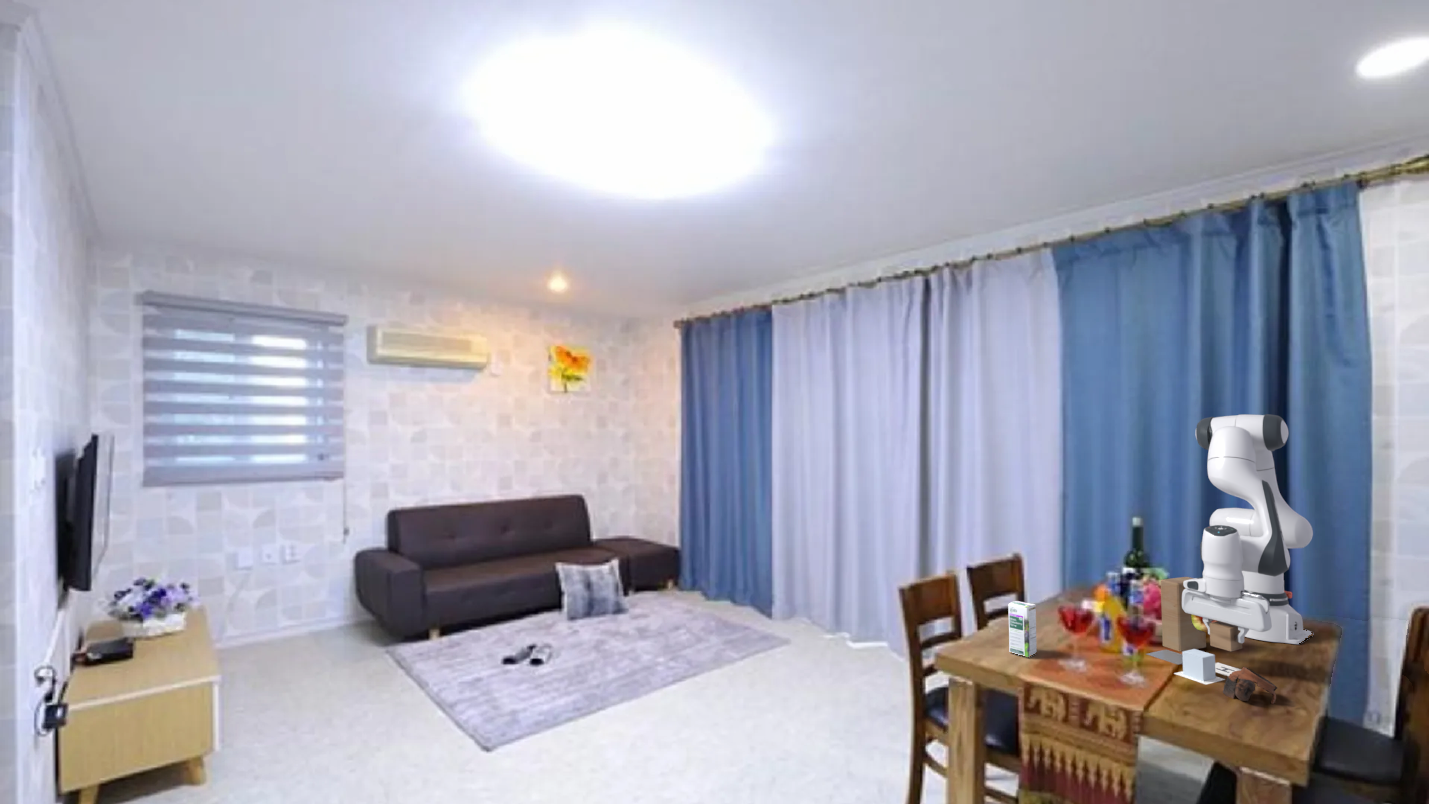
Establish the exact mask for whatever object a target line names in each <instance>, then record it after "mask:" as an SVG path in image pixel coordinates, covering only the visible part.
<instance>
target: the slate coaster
mask: <svg viewBox="0 0 1429 804" xmlns="http://www.w3.org/2000/svg"><path fill="white" fill-rule="evenodd" d="M1146 655H1147V656H1151V657H1154V658H1155V659H1160V660H1162V661H1165V662H1168V663H1170V664H1171V663H1172V664H1175V665H1177V666H1178V665H1183V655H1182V653H1178V652H1175V651H1172V650H1171V649H1170V650H1169V649H1162V650H1158V651H1153V652H1150V653H1149V652H1148V653H1146Z"/></svg>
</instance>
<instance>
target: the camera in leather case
mask: <svg viewBox="0 0 1429 804" xmlns="http://www.w3.org/2000/svg"><path fill="white" fill-rule="evenodd" d="M1256 687H1259V688H1261V689H1263V690H1265V692H1268V693H1269V694H1270V695H1271V697H1272V698H1271V701H1270V704H1271V705H1274V704H1275V703H1276V700H1277V695H1276V690H1277V689H1278V687H1277V685H1275V684H1274V683H1273V682H1271V681H1269V680H1268V679H1267V678H1265V677H1264V676H1262V675H1260V674H1259V673H1258V672H1255V671H1254V670H1252V669H1250V668H1248V667H1245V666H1243V667H1242V668H1241V670H1238V671H1234V672H1232V673H1231V674H1230V675H1229V676H1227V678H1226V680H1225V682H1224V684H1223V690H1222V693H1223V695H1225V696H1226V697H1228V698H1231V699H1234V700H1235V696H1236V698H1238V700H1239V701H1244V702H1249V699H1250V697H1251V695H1253V693H1254V692H1255V691H1256Z"/></svg>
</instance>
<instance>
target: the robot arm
mask: <svg viewBox="0 0 1429 804" xmlns="http://www.w3.org/2000/svg"><path fill="white" fill-rule="evenodd" d="M1194 434H1195V438H1196V441H1197V443H1198V445H1199V447H1201V448H1202V449H1204V450H1207V451H1208V453H1207V461H1206V462H1207V466H1206V467H1207V468H1206V469H1207V470H1206V471H1207V476H1208V479H1209V481H1210V483H1211V484H1212V485H1213V486H1214V487H1216V488H1217V489H1218V490H1220V491H1222V492H1224V493H1226V494H1228V495H1231V496H1233V497H1237V498H1239V499H1242V500H1245V502H1246V501H1247V502H1248V503H1249V505H1251V506H1252V508H1253V509H1252V508H1243V507H1242V508H1241V507H1224V508H1218V509H1216V510H1214V511H1213V512H1212V514H1211V515H1210V517H1209V526H1207V527H1205V528H1204V529H1203V532H1202V533H1203V534H1202V539H1201V541H1200V544H1199V550H1200V555H1199V556H1200V559H1201V560H1202V562H1203V571H1202V577H1201V576H1200V577H1195V578H1194V577H1193V578H1194V579H1189V580H1186V581H1184V582H1183V585H1184V587H1185V588H1186V589H1184V590H1183V593H1182V609H1183V610H1184V612H1185V613H1188V614H1192V615H1193V616H1196V617H1200V618H1202V623H1203V624H1204V625H1205V627H1206V628H1207V635H1209V636H1210V625H1209V623H1213V621H1215V622H1217V621H1220V622H1224V623H1228V624H1231V625H1235V626H1238V630H1240V633H1239V634H1237V635H1234V638H1235V639H1234V641H1235V642H1238V643H1242V644H1243V643H1245V637H1246V638H1248V639H1254V640H1259V641H1264V642H1271V643H1282V644H1283V643H1285V644H1292V645H1300V644H1299V643H1301V642H1302V641H1304V640H1305V638H1308V636H1309V635H1311V634H1312V633H1311V632H1312V631H1310V630H1308V629H1305V628H1304V623H1303V622H1304V621H1303V617H1302V615H1301V614H1300V613H1299V612H1298V611H1297V610H1296V609H1294V607H1292V606H1291V605H1290V604H1289V603H1290V602H1289V599H1292V598H1293V592H1292V591H1287V590H1285V580H1284V576H1285V575H1284V573H1286V572H1287V571H1288V570H1290V565H1291V557H1290V551H1289V549H1303V548H1305V547H1307V546H1308V545H1309V544H1310V543H1311V541H1312V539H1313V536H1314V531H1313V527H1312V525H1311V523H1310V521H1308V520H1307V518H1305V517H1304V516H1302V515H1301V514H1300V513H1297V511H1295V510H1294V509H1292V508H1291V507H1290V505H1289V504H1288V503H1287V502H1286V501H1285V499H1284V498H1283V496H1282V494H1281V493H1280V489H1279V485H1278V481H1277V474H1276V469H1275V460H1274V457H1273V452H1275V451H1276V450H1278V449H1281V448H1282V447H1284V446H1285V445H1286V444H1287V440H1288V438H1289V428H1288V425H1287V424H1286V422H1285V420H1284V419H1283V418H1282V417H1281V416H1280V415H1276V414H1268V413H1267V414H1263V415H1262V414H1249V413H1248V414H1244V413H1243V414H1238V415H1225V416H1216V417H1214V416H1210V417H1204V418H1202V419H1200V420H1199V422H1197V424H1196V428H1195V433H1194ZM1192 615H1191V616H1192ZM1303 629H1305V630H1303ZM1306 630H1307V631H1306ZM1304 642H1305V641H1304ZM1302 643H1303V642H1302ZM1302 643H1301V644H1302Z"/></svg>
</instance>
